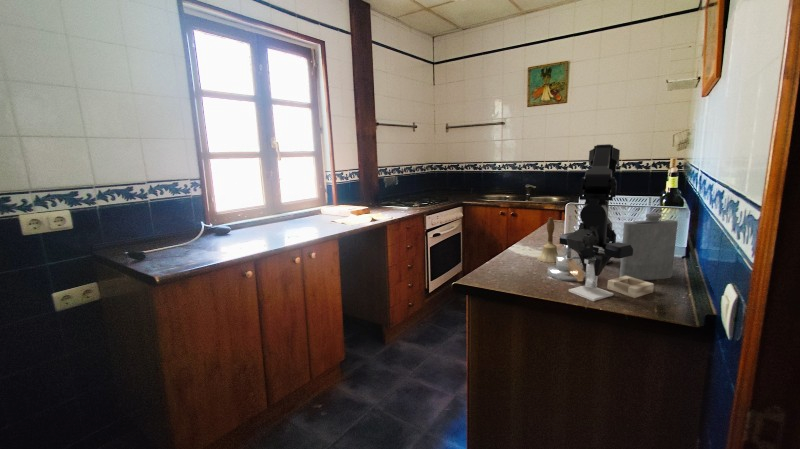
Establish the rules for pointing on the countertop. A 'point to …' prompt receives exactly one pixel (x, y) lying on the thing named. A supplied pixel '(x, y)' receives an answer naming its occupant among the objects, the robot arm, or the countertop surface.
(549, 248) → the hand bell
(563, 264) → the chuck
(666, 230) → the hip flask
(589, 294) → the white square plate
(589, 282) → the shiny silver metal piece
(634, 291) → the socket
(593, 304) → the countertop surface
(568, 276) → the base
